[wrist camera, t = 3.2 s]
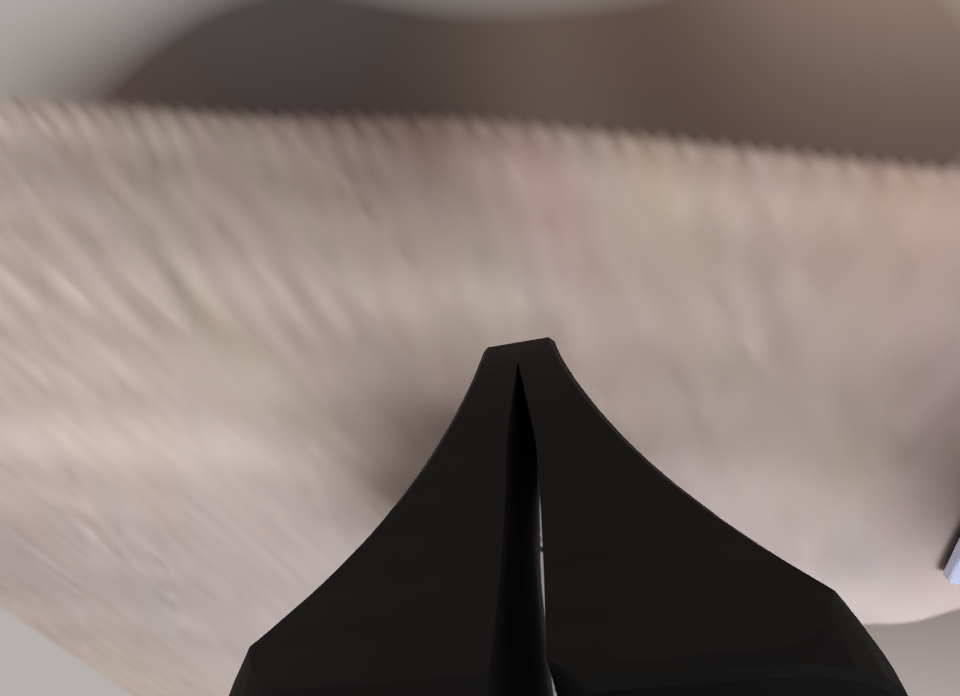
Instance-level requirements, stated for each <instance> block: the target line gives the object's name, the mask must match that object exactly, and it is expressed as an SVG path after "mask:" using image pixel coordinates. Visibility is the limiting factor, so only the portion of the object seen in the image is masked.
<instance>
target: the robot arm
mask: <svg viewBox="0 0 960 696" xmlns="http://www.w3.org/2000/svg"><path fill="white" fill-rule="evenodd" d="M540 508H541V524H542V545H543V567H544V597H545V613H544V604H543V594H542V582H541V564H540ZM943 575H944V576H945V577H946V579H947V580H948V581H949V582H950V583H953V584H960V538H959V540H958V542H957V544H956V547H955V549H954V551H953V553H952V555H951V557H950V559H949V561H948V563H947V565H946V568H945V570H944V572H943ZM551 676H552V677H551ZM552 679H553V683H554V686H555V690H556V693H557V696H908V695H907V693H906V691H905V689H904V687H903V685H902V683H901V682H900V680H899V678H898V676H897V674H896V673H895V671H894V669H893V667H892V666H891V664H890V663H889V661H888V660H887V658H886V657H885V655H884V654H883V652H882V651H881V650H880V648H879V647H878V646H877V644H876V643H875V642H874V640H873V639H872V637H871V636H870V635H869V633H868V632H867V631H866V629H865V628H864V627H863V625H862V624H861V623H860V621H859V620H858V619H857V617H856V616H855V615H854V614H853V612H852V611H851V610H850V609H849V607H848V606H847V605H846V604H845V602H844V601H843V600H842V599H841V597H840V596H839V595H838V594H837V593H836V591H834V590H833V589H831V588H829V587H828V586H826V585H824V584H823V583H821V582H819V581H818V580H816V579H814V578H812V577H811V576H809V575H807V574H806V573H804V572H802V571H801V570H799V569H797V568H796V567H794V566H792V565H791V564H789V563H787V562H786V561H784V560H782V559H781V558H779V557H778V556H776V555H774V554H773V553H771V552H770V551H768V550H766V549H765V548H763V547H762V546H760V545H759V544H757V543H756V542H754V541H753V540H751V539H750V538H748V537H747V536H745V535H744V534H742V533H741V532H739V531H738V530H736V529H735V528H734V527H732V526H731V525H729V524H728V523H726V522H725V521H723V520H722V519H721V518H719V517H718V516H717V515H715V514H714V513H713V512H711V511H710V510H709V509H707V508H706V507H705V506H703V505H702V504H701V503H699V502H698V501H697V500H695V499H694V498H693V497H692V496H690V495H689V494H688V493H686V492H685V491H684V490H682V489H681V488H680V487H678V486H677V485H676V484H675V483H673V482H672V481H671V480H670V479H669V478H667V477H666V476H665V475H664V474H663V473H662V472H661V471H659V470H658V469H657V468H656V467H655V466H654V465H652V464H651V463H650V462H649V461H648V460H647V459H646V458H645V457H644V456H643V455H642V454H641V453H639V452H638V451H637V450H636V449H635V448H634V447H633V446H632V445H631V444H630V443H629V442H628V441H627V440H626V439H625V438H624V437H623V436H622V435H621V434H620V433H619V432H618V431H617V430H616V428H615V427H614V426H613V425H612V424H611V423H610V422H609V421H608V420H607V418H606V417H605V416H604V415H603V414H602V413H601V412H600V410H599V409H598V408H597V407H596V406H595V404H594V403H593V402H592V401H591V399H590V398H589V397H588V395H587V394H586V393H585V392H584V390H583V389H582V388H581V386H580V385H579V384H578V382H577V381H576V379H575V378H574V377H573V375H572V374H571V372H570V370H569V369H568V367H567V366H566V364H565V363H564V361H563V359H562V357H561V355H560V353H559V351H558V349H557V347H556V344H555V341H553V340H552V339H550V338H549V337H548V338H542V339H536V340H530V341H524V342H518V343H512V344H506V345H500V346H494V347H488V348H487V349H486V350H485V352H484V353H483V356H482V359H481V361H480V364H479V366H478V369H477V371H476V374H475V376H474V378H473V381H472V383H471V385H470V387H469V389H468V391H467V394H466V395H465V397H464V399H463V401H462V403H461V405H460V407H459V409H458V411H457V413H456V415H455V417H454V419H453V421H452V423H451V424H450V426H449V428H448V429H447V431H446V433H445V434H444V436H443V438H442V439H441V441H440V443H439V444H438V446H437V448H436V450H435V451H434V453H433V454H432V456H431V457H430V459H429V460H428V462H427V463H426V465H425V466H424V468H423V469H422V471H421V472H420V474H419V475H418V476H417V478H416V479H415V480H414V482H413V483H412V485H411V486H410V487H409V489H408V490H407V491H406V493H405V494H404V495H403V497H402V498H401V499H400V500H399V501H398V503H397V504H396V505H395V506H394V508H393V509H392V510H391V511H390V513H389V514H388V515H387V516H386V517H385V519H384V520H383V521H382V522H381V523H380V525H379V526H378V527H377V528H376V529H375V530H374V532H373V533H372V534H371V535H370V536H369V537H368V538H367V539H366V540H365V542H364V543H363V544H362V545H361V546H360V547H359V548H358V549H357V550H356V551H355V552H354V553H353V554H352V555H351V556H350V557H349V558H348V559H347V560H346V561H345V562H344V563H343V564H342V565H341V566H340V567H339V568H338V569H337V570H336V571H335V572H334V573H333V574H332V575H331V576H330V577H329V578H328V579H327V580H326V581H325V582H324V583H323V584H322V585H321V586H320V587H319V588H317V589H316V590H315V591H314V592H313V593H312V594H311V595H310V596H309V597H308V598H306V599H305V600H304V601H303V602H302V603H301V604H300V605H298V606H297V607H296V608H295V609H294V610H293V611H292V612H290V613H289V614H288V615H287V616H286V617H285V618H283V619H282V620H281V621H280V622H279V623H278V624H277V625H275V626H274V627H273V628H272V629H271V630H270V631H268V632H267V633H266V634H265V635H264V636H263V637H261V638H260V639H259V640H258V641H257V642H255V643H254V644H253V645H252V646H250V648H249V650H248V652H247V655H246V657H245V659H244V661H243V664H242V666H241V668H240V670H239V672H238V675H237V677H236V679H235V681H234V684H233V686H232V689H231V692H230V695H229V696H554V695H553V686H552Z"/></svg>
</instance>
